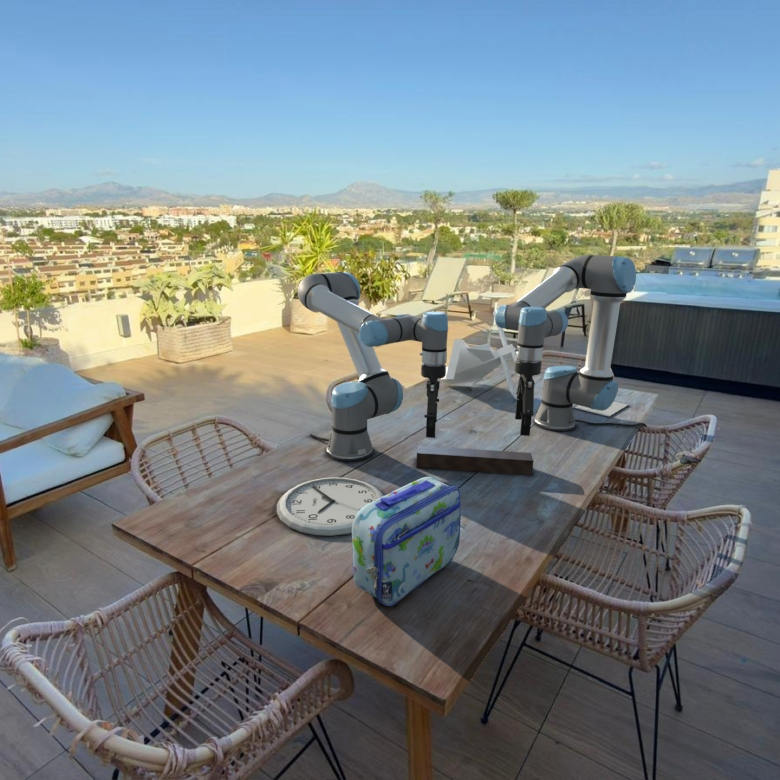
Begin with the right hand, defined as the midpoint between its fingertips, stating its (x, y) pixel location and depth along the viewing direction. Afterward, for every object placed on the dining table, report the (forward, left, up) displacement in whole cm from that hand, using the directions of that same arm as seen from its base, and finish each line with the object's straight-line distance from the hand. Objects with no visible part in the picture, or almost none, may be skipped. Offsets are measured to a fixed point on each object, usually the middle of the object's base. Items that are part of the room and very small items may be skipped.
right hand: (522, 426), depth 161 cm
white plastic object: (+8, -81, -15) cm, 83 cm away
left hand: (+28, 0, -2) cm, 28 cm away
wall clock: (+53, +30, -15) cm, 63 cm away
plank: (+14, 0, -15) cm, 20 cm away
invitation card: (-43, -69, -15) cm, 83 cm away
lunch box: (+30, +58, -15) cm, 67 cm away
